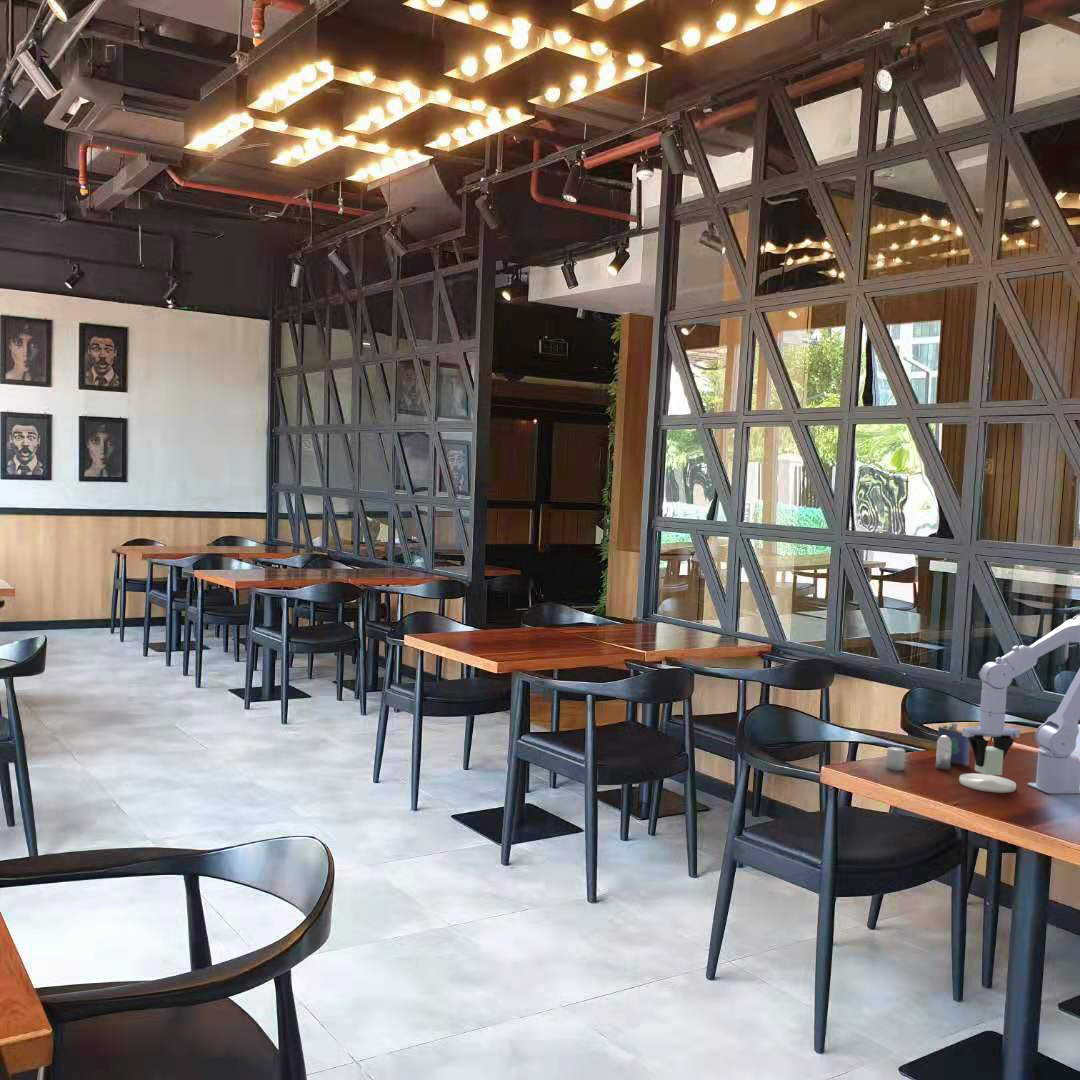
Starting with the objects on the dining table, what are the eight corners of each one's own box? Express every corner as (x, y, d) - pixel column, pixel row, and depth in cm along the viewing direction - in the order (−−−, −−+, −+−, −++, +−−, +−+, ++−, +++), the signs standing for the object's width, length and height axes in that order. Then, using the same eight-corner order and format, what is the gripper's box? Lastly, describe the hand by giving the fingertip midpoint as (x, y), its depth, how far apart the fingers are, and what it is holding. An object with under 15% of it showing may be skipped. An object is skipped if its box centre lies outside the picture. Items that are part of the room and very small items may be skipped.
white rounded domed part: (898, 766, 282) (899, 747, 282) (907, 770, 278) (908, 751, 278) (882, 766, 281) (884, 747, 281) (891, 770, 277) (892, 751, 277)
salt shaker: (945, 765, 285) (947, 733, 284) (952, 769, 281) (955, 737, 281) (932, 765, 284) (934, 733, 284) (940, 769, 281) (942, 737, 280)
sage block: (990, 770, 270) (992, 746, 269) (1001, 774, 265) (1003, 750, 265) (974, 770, 269) (976, 746, 268) (985, 774, 264) (987, 750, 264)
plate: (994, 778, 275) (995, 773, 275) (1027, 792, 262) (1027, 787, 262) (948, 778, 272) (949, 773, 272) (979, 792, 259) (979, 788, 259)
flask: (970, 765, 287) (973, 725, 286) (964, 767, 285) (967, 727, 284) (939, 758, 294) (941, 719, 293) (933, 759, 292) (935, 720, 292)
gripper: (1008, 708, 271) (1004, 761, 272) (956, 707, 269) (952, 761, 269) (1026, 714, 265) (1022, 768, 265) (973, 713, 262) (969, 768, 262)
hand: (988, 765), depth 267 cm, fingers closed on sage block, 4 cm apart
